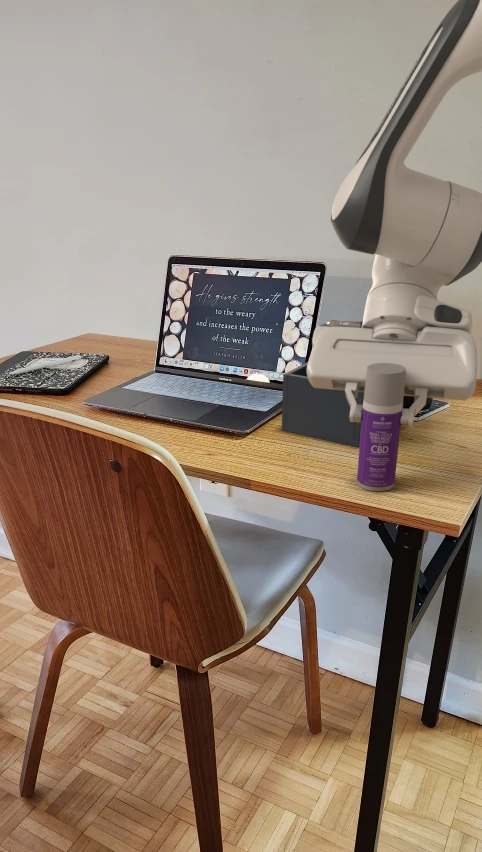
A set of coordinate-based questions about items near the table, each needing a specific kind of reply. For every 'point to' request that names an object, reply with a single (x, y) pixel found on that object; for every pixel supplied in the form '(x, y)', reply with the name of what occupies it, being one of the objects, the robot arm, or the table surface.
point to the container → (380, 426)
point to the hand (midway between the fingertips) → (380, 422)
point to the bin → (317, 410)
